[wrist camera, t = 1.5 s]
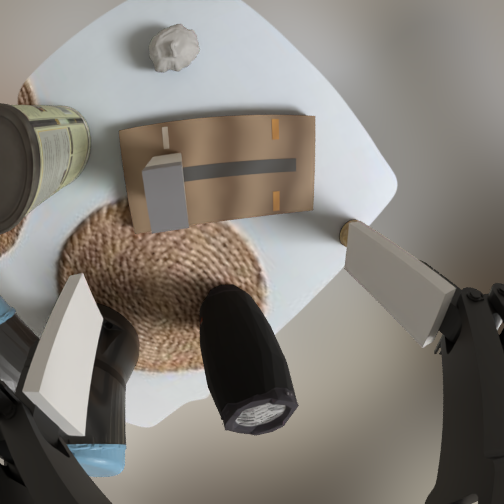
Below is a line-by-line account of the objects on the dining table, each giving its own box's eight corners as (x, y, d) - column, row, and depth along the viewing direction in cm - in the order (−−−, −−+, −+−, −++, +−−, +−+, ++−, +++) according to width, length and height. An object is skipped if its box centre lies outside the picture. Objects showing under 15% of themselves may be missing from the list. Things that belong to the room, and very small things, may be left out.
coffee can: (27, 193, 24) (-36, 240, 12) (22, 115, 20) (-50, 124, 8) (94, 184, 27) (44, 229, 15) (92, 98, 22) (35, 86, 10)
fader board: (137, 227, 31) (134, 234, 29) (122, 130, 25) (118, 130, 24) (306, 205, 36) (313, 210, 34) (307, 115, 30) (315, 116, 28)
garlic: (188, 81, 25) (189, 73, 20) (142, 72, 23) (135, 62, 18) (206, 37, 23) (211, 23, 18) (161, 28, 21) (159, 11, 16)
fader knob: (158, 201, 28) (152, 233, 20) (153, 156, 26) (141, 171, 18) (185, 197, 29) (189, 227, 21) (180, 152, 26) (181, 165, 19)
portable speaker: (183, 311, 38) (199, 432, 21) (227, 268, 37) (271, 386, 20) (225, 336, 42) (257, 443, 26) (267, 298, 41) (321, 404, 24)
